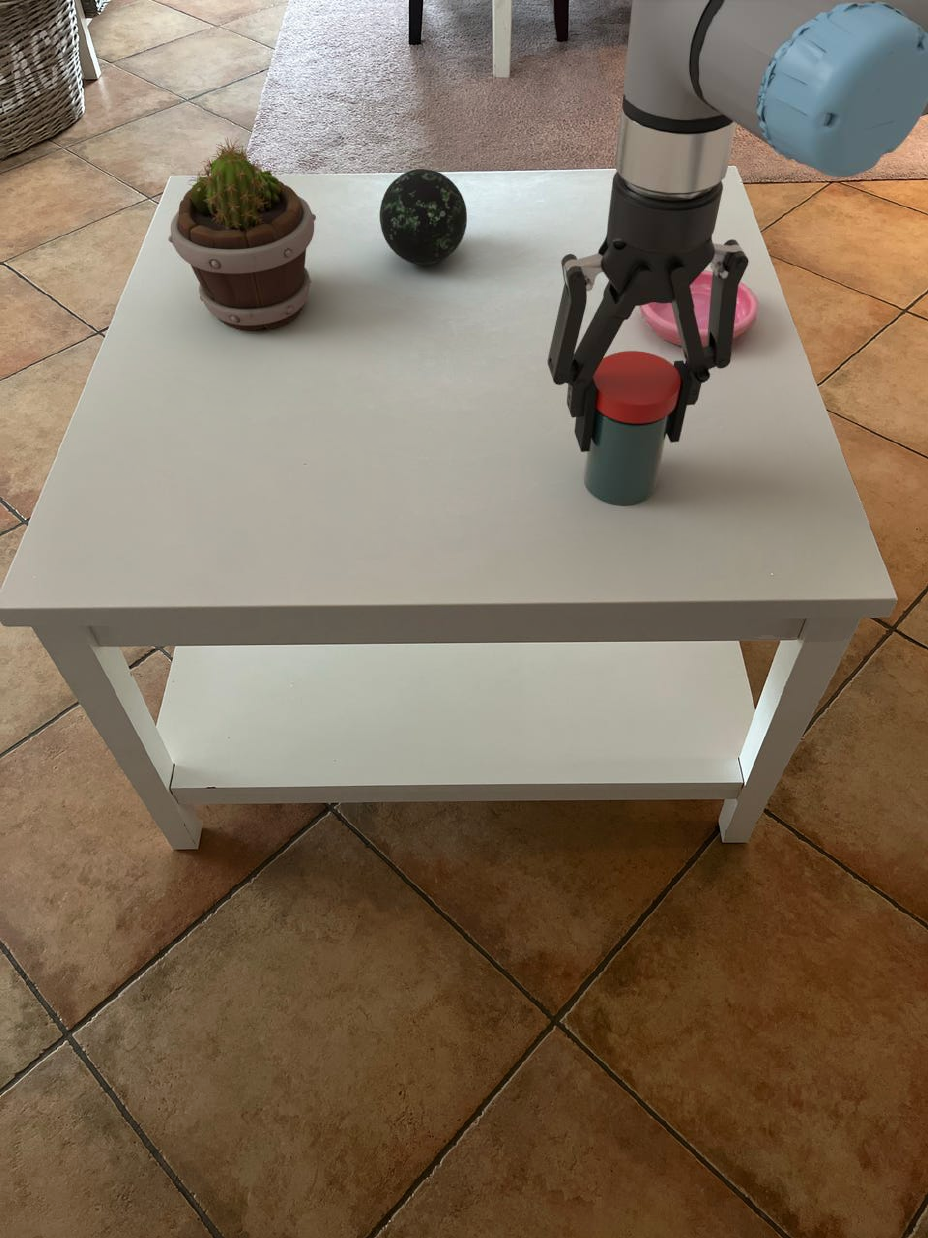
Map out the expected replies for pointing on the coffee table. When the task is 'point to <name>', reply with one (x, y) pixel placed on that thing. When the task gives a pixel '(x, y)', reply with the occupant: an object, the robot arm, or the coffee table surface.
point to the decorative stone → (423, 216)
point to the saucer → (701, 311)
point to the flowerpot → (245, 242)
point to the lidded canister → (624, 459)
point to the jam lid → (636, 387)
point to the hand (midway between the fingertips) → (626, 436)
